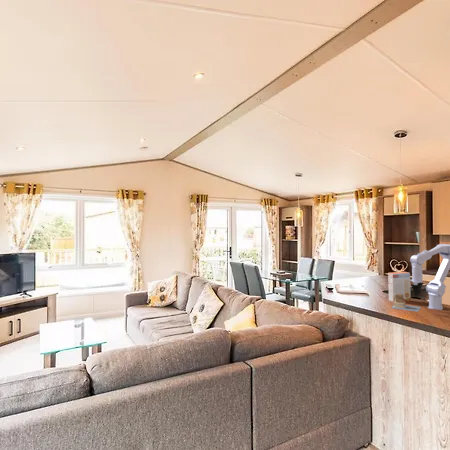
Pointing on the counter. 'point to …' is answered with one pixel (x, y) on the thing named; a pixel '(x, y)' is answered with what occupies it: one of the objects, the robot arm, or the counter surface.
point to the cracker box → (399, 285)
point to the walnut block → (399, 298)
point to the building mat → (408, 308)
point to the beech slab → (399, 304)
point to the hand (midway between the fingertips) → (417, 294)
